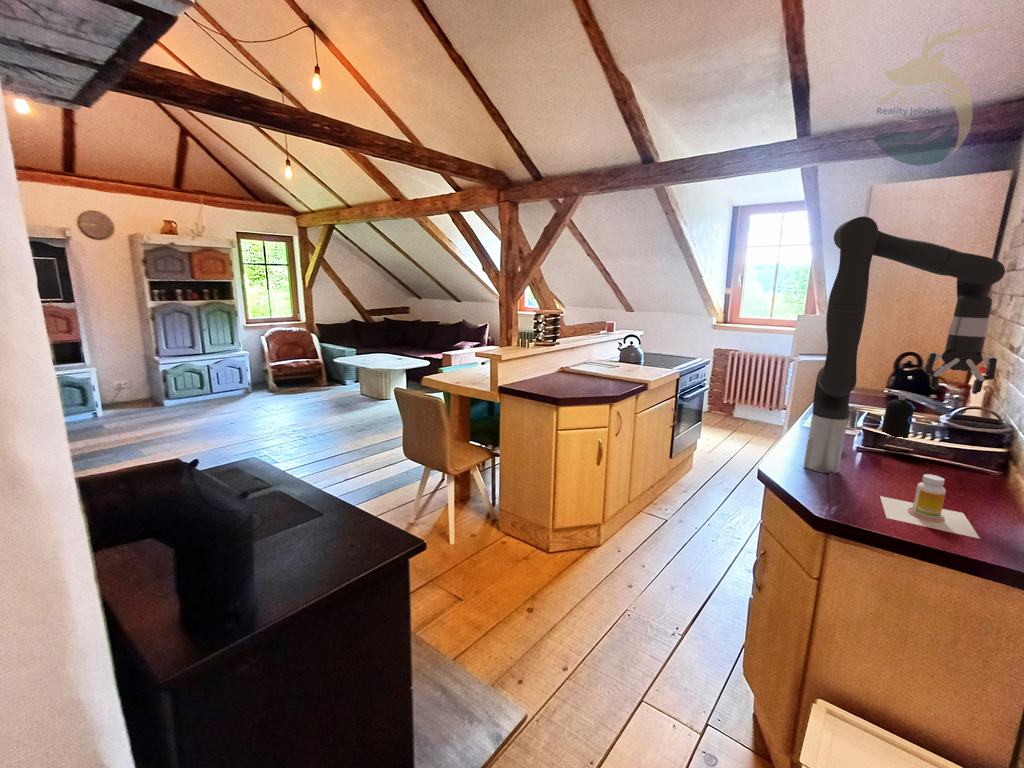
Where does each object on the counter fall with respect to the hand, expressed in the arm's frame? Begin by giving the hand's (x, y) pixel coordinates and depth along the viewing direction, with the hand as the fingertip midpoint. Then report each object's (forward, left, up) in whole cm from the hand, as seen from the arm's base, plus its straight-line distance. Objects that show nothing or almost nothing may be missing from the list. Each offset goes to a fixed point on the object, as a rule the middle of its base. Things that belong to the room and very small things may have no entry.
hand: (953, 391), depth 134 cm
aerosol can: (-6, +35, -28) cm, 45 cm away
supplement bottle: (-6, -29, -27) cm, 40 cm away
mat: (-6, -29, -28) cm, 41 cm away
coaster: (-6, -29, -28) cm, 40 cm away
